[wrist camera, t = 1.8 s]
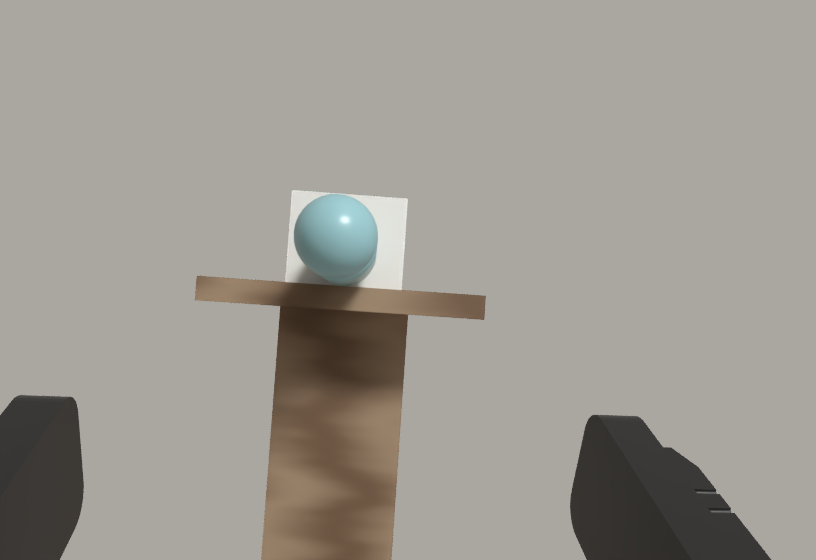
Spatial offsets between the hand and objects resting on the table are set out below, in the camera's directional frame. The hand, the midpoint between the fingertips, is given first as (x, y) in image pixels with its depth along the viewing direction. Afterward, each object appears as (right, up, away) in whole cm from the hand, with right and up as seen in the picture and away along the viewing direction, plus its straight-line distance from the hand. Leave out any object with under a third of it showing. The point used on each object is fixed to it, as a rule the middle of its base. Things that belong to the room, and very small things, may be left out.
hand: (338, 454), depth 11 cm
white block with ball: (-2, +2, +21) cm, 21 cm away
